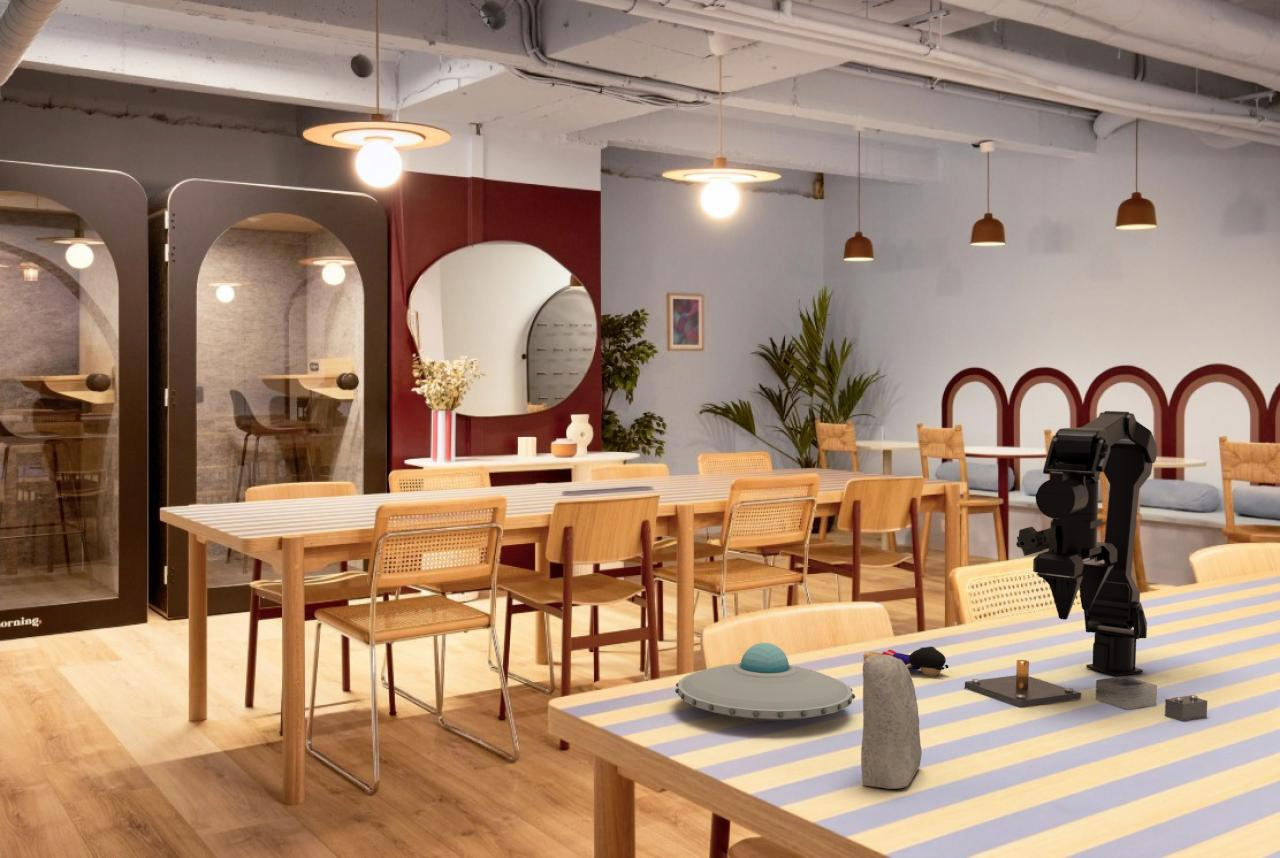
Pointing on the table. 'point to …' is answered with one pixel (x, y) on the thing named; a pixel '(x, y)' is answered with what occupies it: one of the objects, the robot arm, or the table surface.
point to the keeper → (1022, 689)
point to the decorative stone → (889, 724)
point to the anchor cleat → (1186, 708)
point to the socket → (1126, 692)
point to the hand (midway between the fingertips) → (1074, 614)
